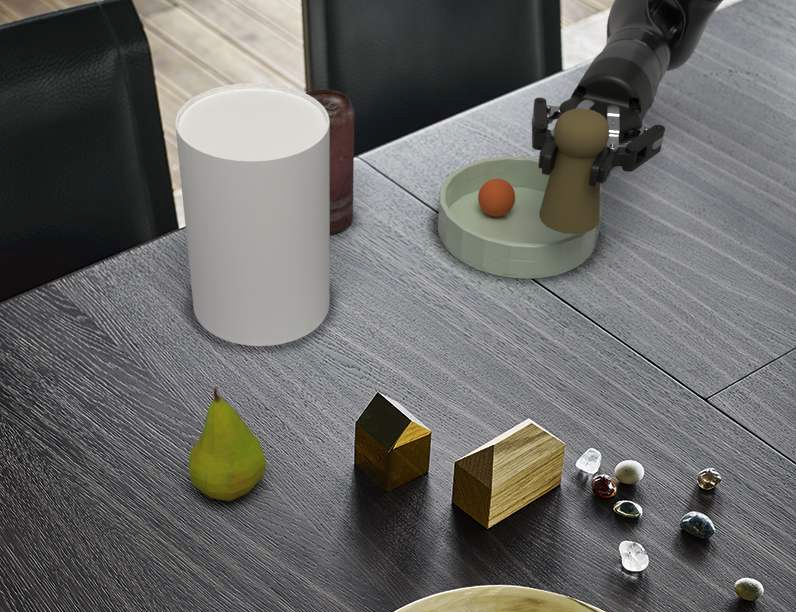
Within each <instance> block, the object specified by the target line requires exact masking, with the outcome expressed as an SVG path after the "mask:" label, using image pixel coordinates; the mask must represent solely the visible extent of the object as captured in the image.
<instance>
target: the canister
mask: <svg viewBox="0 0 796 612" xmlns="http://www.w3.org/2000/svg"><path fill="white" fill-rule="evenodd" d="M306 93H307V92H303V91H301V90H298V89H296V88H292V87H289V86H284V85H280V84H274V83H264V82H244V83H243V82H242V83H241V82H240V83H233V84H227V85H221V86H218V87H214V88H211V89H208V90H205V91H203V92H201V93H199V94H197V95H194V96H193V97H192V98H190V99H189V100H187V101H186V102H185V103H184V104H183V105H182V106H181V107H180V108H179V110H178V111H177V113H176V117H175V133H176V143H177V155H178V165H179V174H180V183H181V184H180V185H181V195H182V196H181V197H182V204H183V215H184V216H183V217H184V225H185V235H186V245H187V256H188V265H189V267H188V268H189V277H190V287H191V297H192V307H193V313H194V315H195V318H196V320H197V322H198V323H199V324H200V325H201V326H202V327H203V328H204V329H205V331H208V332H209V333H210V334H212V335H213V336H214V337H217V338H218V339H221V340H223V341H226V342H229V343H233V344H237V345H242V346H249V347H250V346H251V347H269V346H271V347H272V346H277V345H278V346H279V345H283V344H288V343H291V342H294V341H297V340H299V339H301V338H304V337H305V336H307V335H309V334H311V333H312V332H313V331H315V330H317V329H318V328H319V327H320V325H322V323H324V321H325V319H326V318H327V316H328V313H329V311H330V305H331V304H330V301H331V300H330V297H331V296H330V294H331V293H330V292H331V291H330V288H331V287H330V285H331V284H330V275H331V274H330V272H331V271H330V265H331V264H330V262H331V261H330V257H331V256H330V250H331V249H330V244H331V243H330V242H331V241H330V239H331V238H330V237H331V235H330V203H329V116H328V113H327V111H326V109H325V108H324V107H323V106H322V104H321V103H319V102H318V101H317V100H316V99H314V98H313V97H311V96H309V95H308V94H306Z"/></svg>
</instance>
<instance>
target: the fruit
mask: <svg viewBox="0 0 796 612" xmlns="http://www.w3.org/2000/svg"><path fill="white" fill-rule="evenodd" d="M213 397H214V398H213V400H212V402H211V403H210V405H209V406H208V409H207V411H206V415H205V422H204V428H203V430H202V432H201V434H200V437H199V439H198V440H197V441H196V442H195V444H193V447H191V449H190V451H189V456H188V469H189V470H188V473H189V477H190V482H191V484H192V485H193V486H194V487H195V489H197V490H198V491H200V492H202V493H203V494H205V495H206V496H207V497H209V498H211V499H216V500H220V501H221V500H222V501H228V502H231V501H234V500H235V499H239V498H240V497H242V496H244V495H247V494H248V493H249V492H250V491H251V490H252V489H253V488H254V487H255V486H256V485H257V484H258V483H259V482H260V481H261V479H262V478H264V475H265V474H266V469H267V468H266V467H267V460H266V457H265V454H264V453H265V452H264V451H263V448H262V447H263V446H262V444H261V442H260V440H259V439H258V438H257V436H256V435H255V434H254V433H253V431H252V430H251V429H250V428H249V426H248V425H247V423H245V421H244V420H243V419H242V418H241V416H240V415H239V413H238V412H237V411H236V410H235V409H234V408H233V406H231V404H229V403H228V402H226V400H225V399H223V397H222V396H221V395H218V388H217V386H215V387H214V388H213Z"/></svg>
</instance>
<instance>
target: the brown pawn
mask: <svg viewBox="0 0 796 612" xmlns="http://www.w3.org/2000/svg"><path fill="white" fill-rule="evenodd" d="M553 129H554V140H555V143H556V145H557V147H558V149H557V153H556V158H555V162H554V168H553V170H552V172H551V173H550V176H549V180H548V183H547V187H546V190H545V194H544V197H543V201H542V205H541V208H540V212H539V217H540V219H541V221H542V223H544V224H545V225H546V226H547V227H548V228H550V229H552V230H554V231H558V232H561V233H567V234H579V233H585V232H588V231H591V230H592V229H594V228H595V227H597V225H598V223H599V214H600V197H601V183H598V184H597V186H596V187H594V186H590V185H589V179H590V173H591V168H592V165H593V163H594V161H595V160H596V158H597V156H598V154H599V153H600V152H601V151H602V150H603V149H604V148H605V146H606V144H607V142H608V139H609V125H608V123H607V120H606V119H605V117H604V116H602V115H601V114H600V113H598V112H596V111H593V110H590V109H583V108H579V109H572V110H569V111H566V112H564V113H563V114H562V115H561V116H560V117H559V119H556V122H555V124H554V127H553Z"/></svg>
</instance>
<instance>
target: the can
mask: <svg viewBox="0 0 796 612" xmlns="http://www.w3.org/2000/svg"><path fill="white" fill-rule="evenodd" d="M305 93H306V94H308V95H309V96H311V97H313V98H314V99H316V100H317V101H318V102H319V103H321V104H322V106H323V107H324V108H325V109H326V111H327V113H328V116H329V203H330V236H332V235H336V234H337V235H338V234H340V233H341V232H344V231H345V230H347V228H348V227H349V226H350V224H351V223H352V222H353V217H354V168H355V166H354V165H355V109H354V106H353V104H352V102H351V99H350V98H349V97H348V95H346V94H344V93H342V92H340V91H338V90H337V91H336V90H333V89H325V88H324V89H314V90H309V91H307V92H305Z"/></svg>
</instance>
